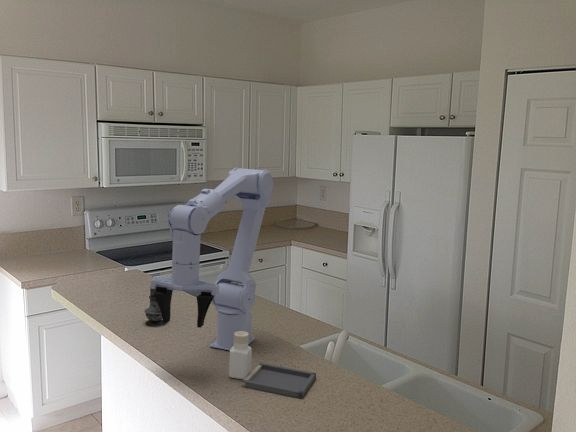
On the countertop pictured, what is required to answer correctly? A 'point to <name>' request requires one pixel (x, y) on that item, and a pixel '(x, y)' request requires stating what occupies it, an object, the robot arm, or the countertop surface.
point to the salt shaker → (153, 312)
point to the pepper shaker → (240, 356)
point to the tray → (279, 380)
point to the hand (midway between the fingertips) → (183, 324)
